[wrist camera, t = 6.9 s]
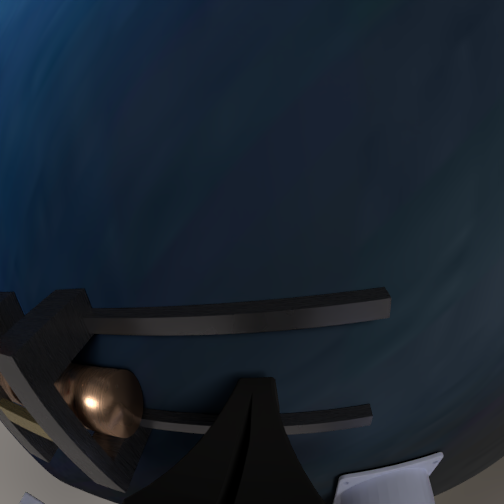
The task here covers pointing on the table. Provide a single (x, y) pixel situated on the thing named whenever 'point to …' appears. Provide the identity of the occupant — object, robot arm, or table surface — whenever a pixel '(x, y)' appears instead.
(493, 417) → the table surface
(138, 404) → the tube
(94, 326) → the metal clamp tool
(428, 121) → the table surface
